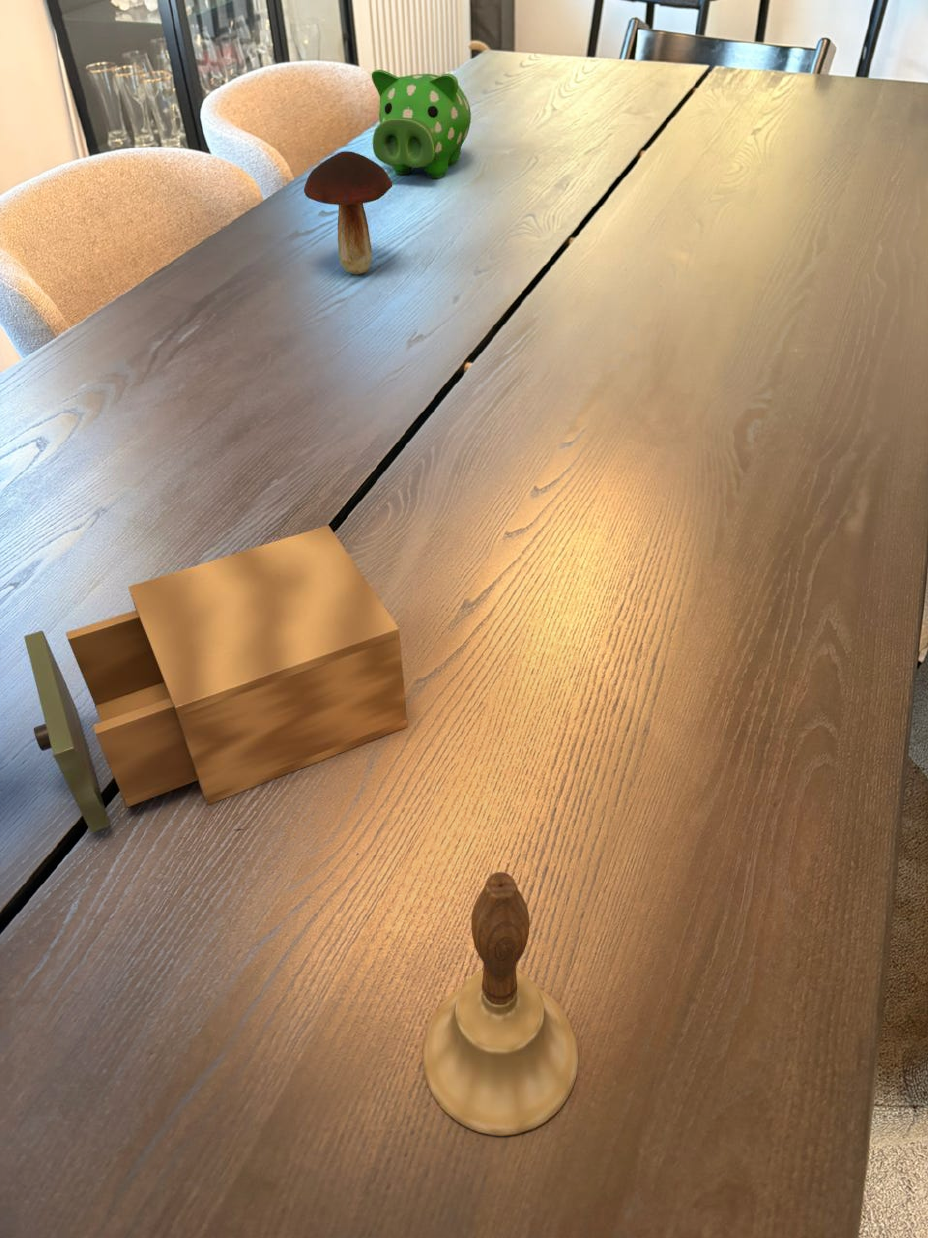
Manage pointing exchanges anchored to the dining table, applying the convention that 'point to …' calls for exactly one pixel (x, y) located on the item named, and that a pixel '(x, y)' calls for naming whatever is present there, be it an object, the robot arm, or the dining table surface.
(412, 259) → the dining table surface
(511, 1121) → the hand bell
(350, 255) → the decorative mushroom
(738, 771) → the dining table surface
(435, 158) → the piggy bank
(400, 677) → the cabinet
